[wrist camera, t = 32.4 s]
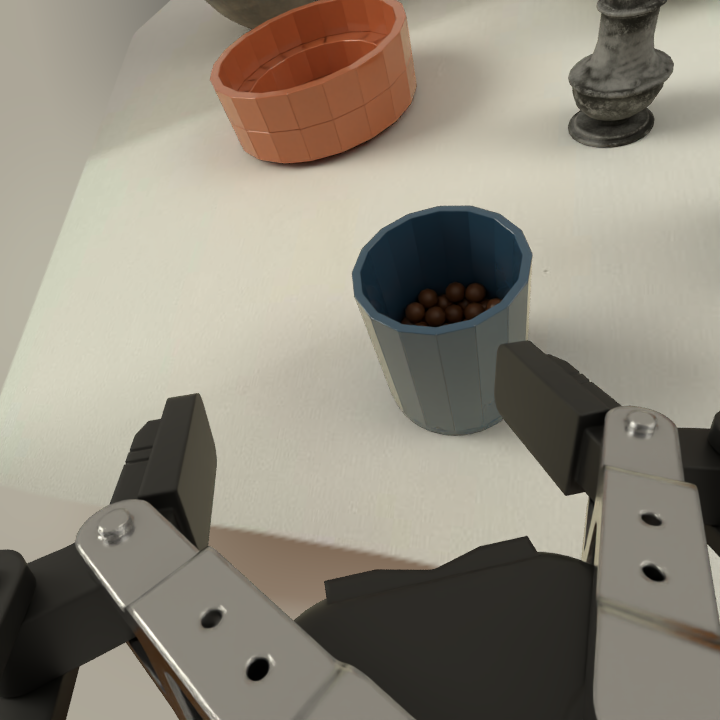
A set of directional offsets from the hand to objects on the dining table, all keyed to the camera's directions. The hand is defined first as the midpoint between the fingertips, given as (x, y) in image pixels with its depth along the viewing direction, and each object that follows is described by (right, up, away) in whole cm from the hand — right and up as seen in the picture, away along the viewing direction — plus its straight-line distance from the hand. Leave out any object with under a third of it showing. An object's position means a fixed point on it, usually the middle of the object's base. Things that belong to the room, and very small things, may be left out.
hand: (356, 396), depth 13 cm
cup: (+5, 0, +12) cm, 13 cm away
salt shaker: (+17, +17, +20) cm, 32 cm away
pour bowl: (-3, +24, +31) cm, 39 cm away
